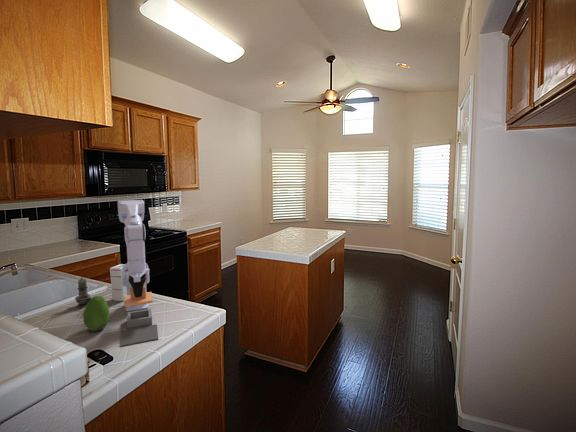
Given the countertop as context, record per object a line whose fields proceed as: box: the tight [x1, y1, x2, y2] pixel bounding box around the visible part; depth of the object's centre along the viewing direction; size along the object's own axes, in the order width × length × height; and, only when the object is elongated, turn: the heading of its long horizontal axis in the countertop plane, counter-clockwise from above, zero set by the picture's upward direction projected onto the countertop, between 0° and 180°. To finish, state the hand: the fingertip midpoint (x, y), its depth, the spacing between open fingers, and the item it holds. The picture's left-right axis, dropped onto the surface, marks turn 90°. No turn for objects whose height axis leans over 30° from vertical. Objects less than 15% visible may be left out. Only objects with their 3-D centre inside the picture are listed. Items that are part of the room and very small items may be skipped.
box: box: [126, 308, 153, 329], centre depth 117 cm, size 8×8×3 cm
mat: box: [120, 323, 159, 347], centre depth 108 cm, size 11×11×1 cm
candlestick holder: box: [74, 276, 93, 309], centre depth 131 cm, size 6×6×12 cm
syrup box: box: [109, 263, 127, 302], centre depth 139 cm, size 6×6×14 cm
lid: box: [123, 285, 153, 308], centre depth 116 cm, size 9×9×6 cm
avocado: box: [82, 295, 110, 332], centre depth 111 cm, size 8×8×12 cm
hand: (138, 295), depth 116 cm, fingers closed on lid, 2 cm apart
